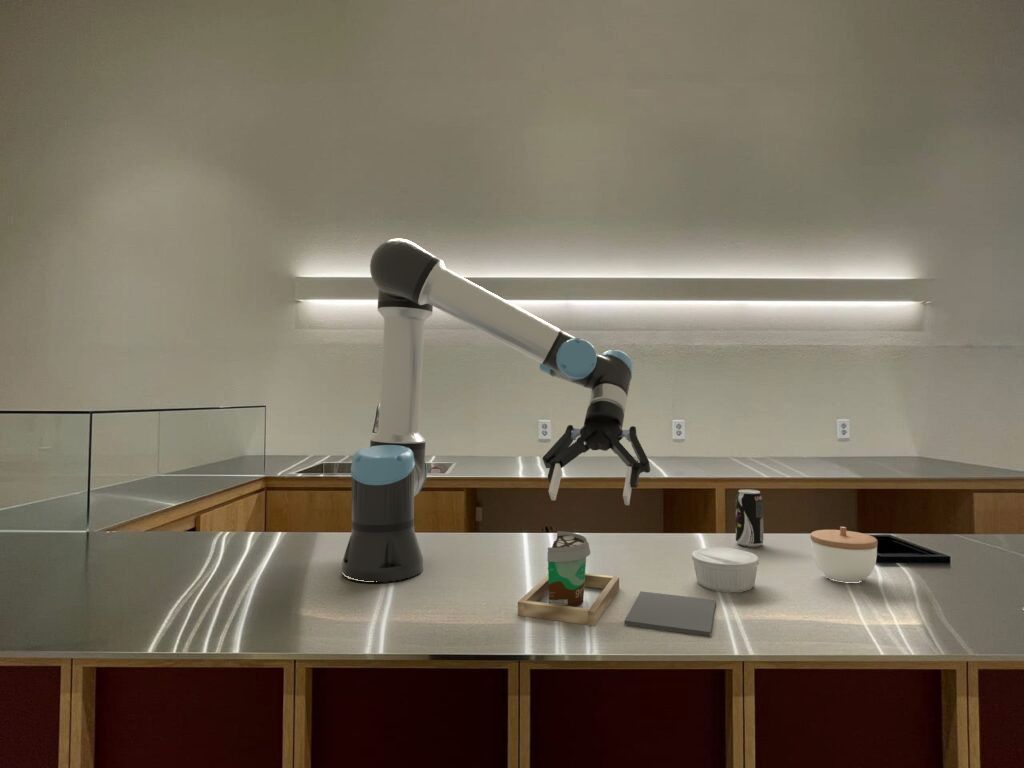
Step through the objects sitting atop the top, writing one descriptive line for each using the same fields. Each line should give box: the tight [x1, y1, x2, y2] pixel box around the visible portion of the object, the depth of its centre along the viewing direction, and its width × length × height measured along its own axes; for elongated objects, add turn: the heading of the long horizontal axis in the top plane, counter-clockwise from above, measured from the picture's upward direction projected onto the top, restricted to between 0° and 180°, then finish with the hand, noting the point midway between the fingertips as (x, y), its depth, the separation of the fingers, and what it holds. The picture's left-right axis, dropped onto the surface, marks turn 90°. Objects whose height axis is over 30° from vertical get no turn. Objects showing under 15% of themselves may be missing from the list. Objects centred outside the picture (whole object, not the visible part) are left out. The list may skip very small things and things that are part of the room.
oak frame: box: [517, 572, 620, 627], centre depth 100 cm, size 12×18×2 cm, turn 159°
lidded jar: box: [810, 526, 879, 582], centre depth 111 cm, size 11×11×9 cm
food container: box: [547, 530, 591, 607], centre depth 100 cm, size 12×6×10 cm, turn 168°
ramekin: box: [691, 547, 760, 593], centre depth 108 cm, size 11×11×5 cm
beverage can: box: [734, 488, 764, 548], centre depth 136 cm, size 6×6×12 cm
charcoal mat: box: [624, 590, 717, 637], centre depth 94 cm, size 12×14×1 cm
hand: (588, 498), depth 110 cm, fingers open, 13 cm apart
